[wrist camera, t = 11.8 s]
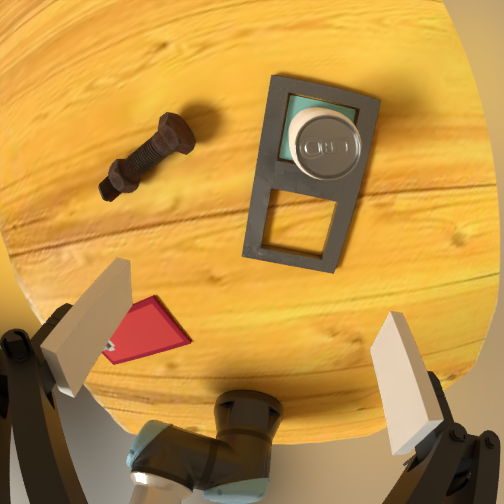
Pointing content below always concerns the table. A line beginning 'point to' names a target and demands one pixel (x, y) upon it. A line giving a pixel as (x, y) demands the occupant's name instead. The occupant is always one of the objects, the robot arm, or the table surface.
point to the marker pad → (300, 104)
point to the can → (324, 143)
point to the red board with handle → (144, 333)
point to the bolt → (147, 156)
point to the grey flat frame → (305, 175)
